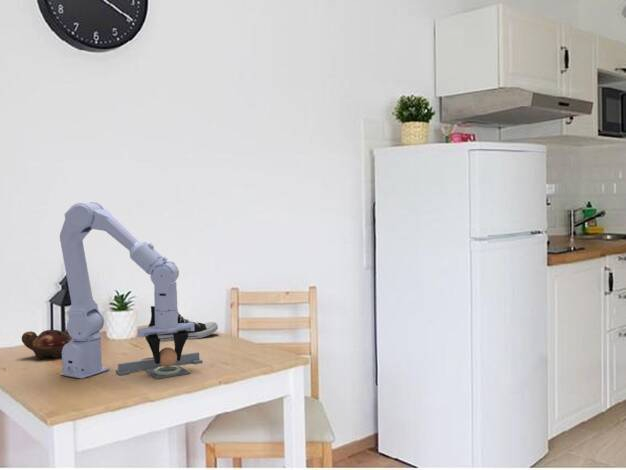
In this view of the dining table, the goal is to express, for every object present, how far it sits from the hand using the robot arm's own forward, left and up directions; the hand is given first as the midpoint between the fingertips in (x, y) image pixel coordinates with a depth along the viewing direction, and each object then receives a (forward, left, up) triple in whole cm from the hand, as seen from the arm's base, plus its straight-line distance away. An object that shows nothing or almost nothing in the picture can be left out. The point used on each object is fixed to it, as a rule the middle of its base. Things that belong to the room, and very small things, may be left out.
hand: (167, 361), depth 171 cm
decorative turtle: (-2, +41, -3) cm, 41 cm away
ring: (+6, +10, -3) cm, 12 cm away
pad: (0, 0, -3) cm, 3 cm away
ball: (0, 0, -1) cm, 1 cm away
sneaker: (+34, +23, -3) cm, 41 cm away
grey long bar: (+3, +5, -3) cm, 7 cm away
